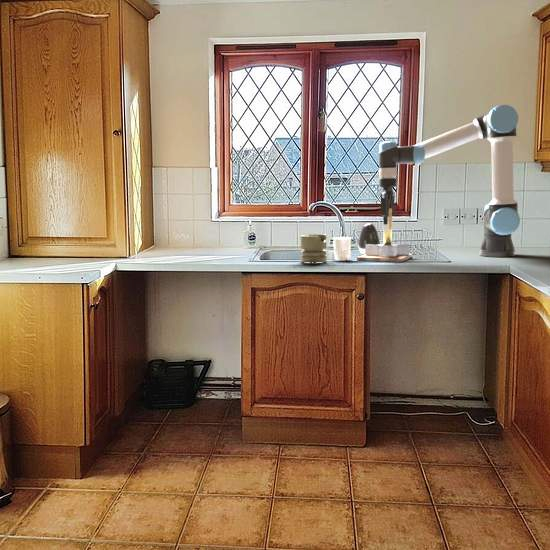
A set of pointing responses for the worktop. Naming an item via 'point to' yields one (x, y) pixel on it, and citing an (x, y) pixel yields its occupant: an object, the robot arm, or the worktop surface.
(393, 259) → the mount board
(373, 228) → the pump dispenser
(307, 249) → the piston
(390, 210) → the pin
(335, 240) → the white cup
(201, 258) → the worktop surface
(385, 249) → the white piece
